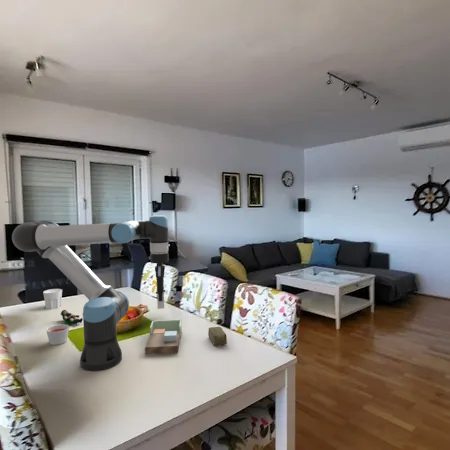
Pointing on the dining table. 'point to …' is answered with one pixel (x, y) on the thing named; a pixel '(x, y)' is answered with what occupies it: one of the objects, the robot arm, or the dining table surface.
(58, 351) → the dining table surface
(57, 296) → the cup
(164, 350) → the board
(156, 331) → the tile terracotta
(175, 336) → the pale blue square block
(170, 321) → the tray
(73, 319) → the figurine
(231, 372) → the dining table surface
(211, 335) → the stone block
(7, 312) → the dining table surface
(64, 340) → the candle
